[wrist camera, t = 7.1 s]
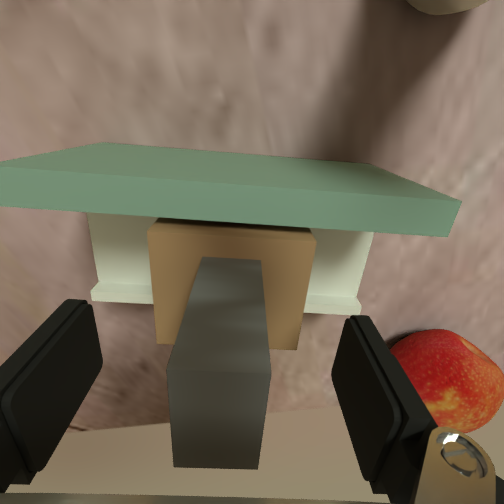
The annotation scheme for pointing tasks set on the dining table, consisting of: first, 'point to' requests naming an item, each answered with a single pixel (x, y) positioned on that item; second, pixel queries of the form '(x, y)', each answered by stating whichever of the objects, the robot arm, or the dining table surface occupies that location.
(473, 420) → the apple
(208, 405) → the tan grey tall block
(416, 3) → the plastic bottle
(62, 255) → the dining table surface
